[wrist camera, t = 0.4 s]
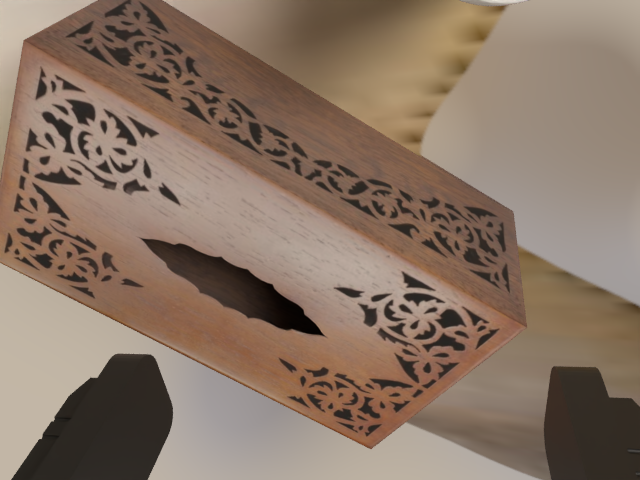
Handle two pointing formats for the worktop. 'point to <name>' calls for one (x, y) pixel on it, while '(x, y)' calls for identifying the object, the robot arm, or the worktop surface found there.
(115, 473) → the robot arm
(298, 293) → the tissue box cover
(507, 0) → the supplement bottle
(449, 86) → the worktop surface
